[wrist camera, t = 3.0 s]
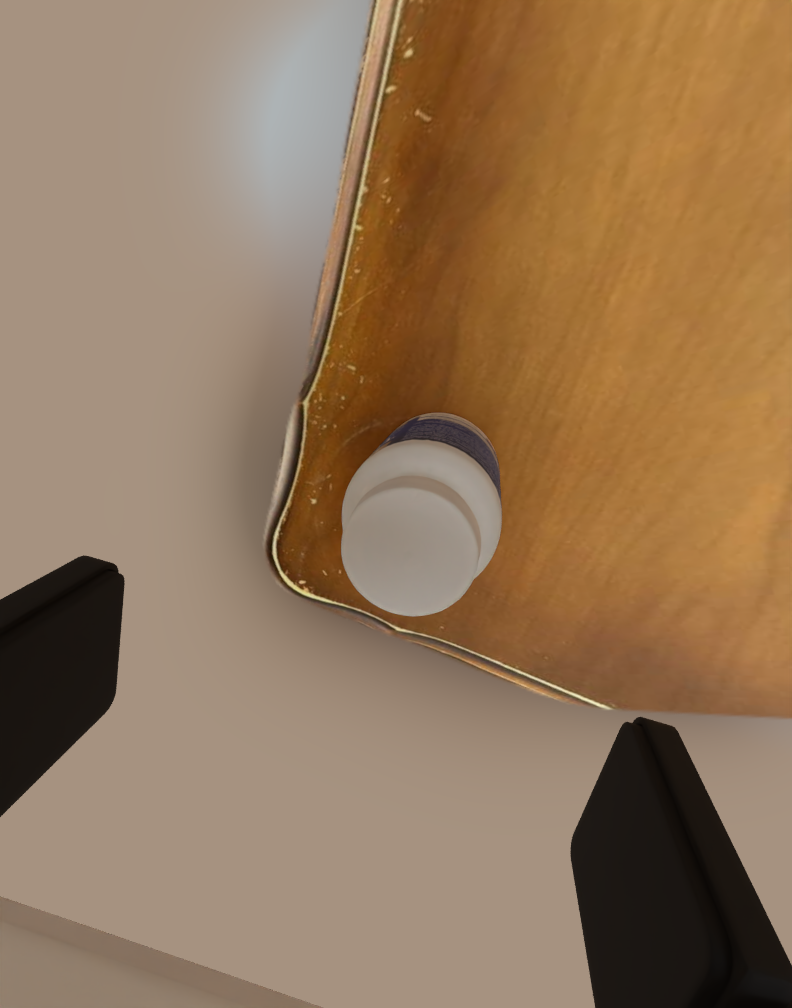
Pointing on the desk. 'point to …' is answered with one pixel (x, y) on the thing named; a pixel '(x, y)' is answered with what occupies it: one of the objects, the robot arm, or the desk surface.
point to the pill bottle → (422, 515)
